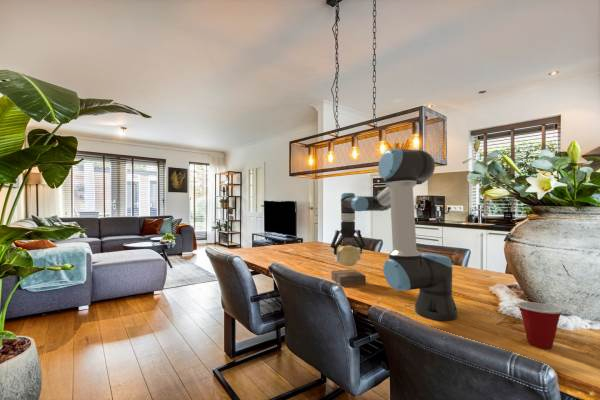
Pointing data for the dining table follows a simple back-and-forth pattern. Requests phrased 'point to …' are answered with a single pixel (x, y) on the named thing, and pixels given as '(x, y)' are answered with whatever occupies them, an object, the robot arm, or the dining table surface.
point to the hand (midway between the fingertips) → (347, 260)
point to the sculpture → (348, 255)
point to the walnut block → (348, 277)
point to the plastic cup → (540, 323)
